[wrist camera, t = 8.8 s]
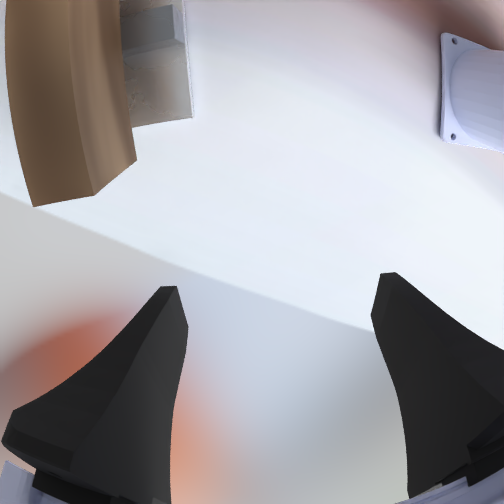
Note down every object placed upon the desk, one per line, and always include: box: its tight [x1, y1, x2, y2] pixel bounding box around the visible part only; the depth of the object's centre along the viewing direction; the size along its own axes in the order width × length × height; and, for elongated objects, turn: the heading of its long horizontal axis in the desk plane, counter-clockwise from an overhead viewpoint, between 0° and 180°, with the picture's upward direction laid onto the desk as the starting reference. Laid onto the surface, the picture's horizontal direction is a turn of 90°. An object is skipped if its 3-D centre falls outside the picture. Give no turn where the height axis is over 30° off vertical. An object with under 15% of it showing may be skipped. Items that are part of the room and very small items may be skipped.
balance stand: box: [119, 0, 194, 128], centre depth 12 cm, size 9×11×3 cm
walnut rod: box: [5, 0, 137, 207], centre depth 9 cm, size 4×14×5 cm, turn 4°
